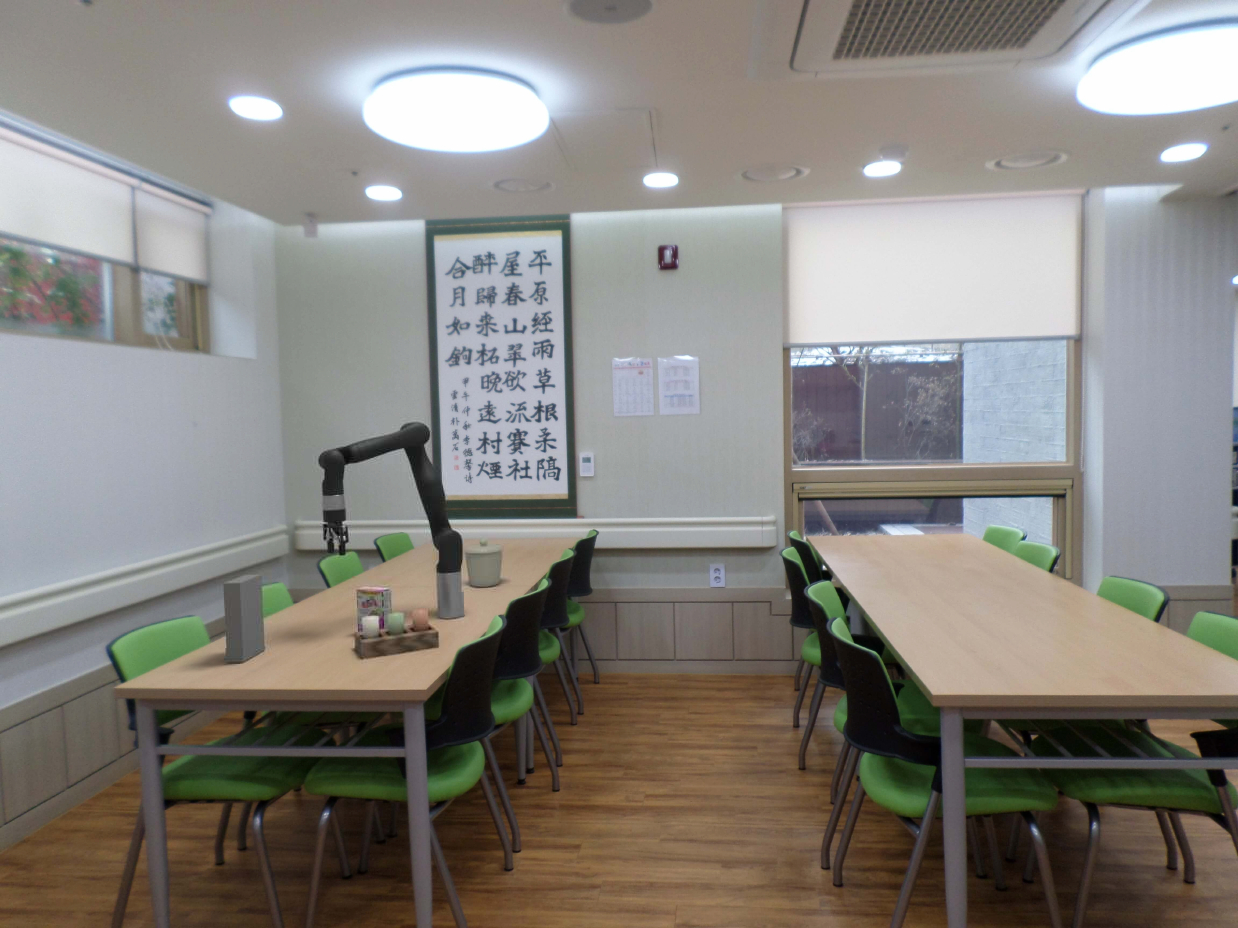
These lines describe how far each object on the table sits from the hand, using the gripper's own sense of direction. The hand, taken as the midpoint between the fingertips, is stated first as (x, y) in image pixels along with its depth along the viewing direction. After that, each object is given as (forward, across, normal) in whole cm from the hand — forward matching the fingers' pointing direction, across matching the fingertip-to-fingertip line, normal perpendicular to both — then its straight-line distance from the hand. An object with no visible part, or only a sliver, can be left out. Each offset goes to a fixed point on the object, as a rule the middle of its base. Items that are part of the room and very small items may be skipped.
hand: (336, 554), depth 269 cm
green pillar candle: (+25, -30, -5) cm, 39 cm away
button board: (+29, -30, -5) cm, 41 cm away
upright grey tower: (+28, -1, +33) cm, 43 cm away
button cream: (+25, -27, +3) cm, 37 cm away
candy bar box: (+29, -10, -8) cm, 31 cm away
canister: (+30, +31, -83) cm, 93 cm away
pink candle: (+25, -32, -12) cm, 42 cm away
